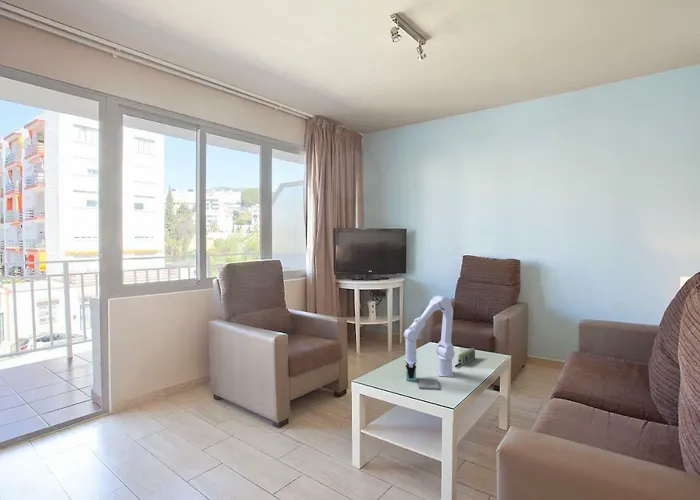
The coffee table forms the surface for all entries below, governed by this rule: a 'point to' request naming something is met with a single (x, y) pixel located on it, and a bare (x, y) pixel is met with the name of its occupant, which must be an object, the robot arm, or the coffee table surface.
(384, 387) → the coffee table surface
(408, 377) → the teal block
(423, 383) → the slate mat
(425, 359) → the coffee table surface
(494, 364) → the coffee table surface
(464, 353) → the handheld radio
